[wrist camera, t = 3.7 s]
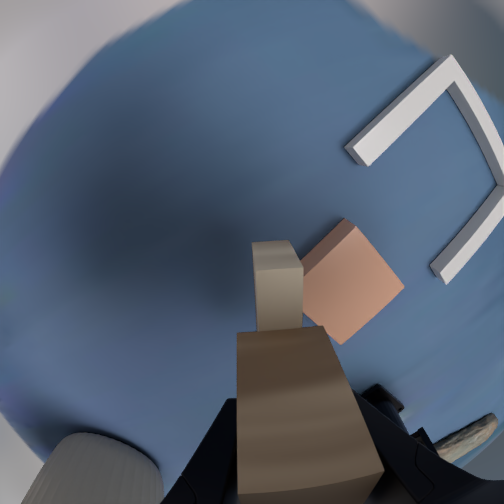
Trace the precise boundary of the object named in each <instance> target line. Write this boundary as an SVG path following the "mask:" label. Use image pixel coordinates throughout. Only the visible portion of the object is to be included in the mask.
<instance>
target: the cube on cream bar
mask: <svg viewBox="0 0 504 504" xmlns="http://www.w3.org/2000/svg"><path fill="white" fill-rule="evenodd" d="M252 256H253V273H254V291H255V308H256V326H257V331H256V332H241V333H237V474H238V496H239V500H240V504H363V503H364V502H365V501H366V499H367V498H368V496H369V495H370V493H371V492H372V490H373V489H374V487H375V485H376V484H377V482H378V481H379V479H380V477H381V476H382V474H383V472H384V468H383V465H382V463H381V460H380V458H379V455H378V453H377V450H376V448H375V445H374V443H373V440H372V438H371V435H370V433H369V430H368V428H367V426H366V423H365V421H364V418H363V416H362V414H361V411H360V409H359V406H358V404H357V402H356V399H355V397H354V395H353V392H352V390H351V387H350V385H349V383H348V381H347V378H346V376H345V374H344V371H343V369H342V367H341V364H340V362H339V360H338V358H337V355H336V353H335V351H334V349H333V346H332V344H331V342H330V340H329V337H328V335H327V333H326V331H325V328H324V326H323V325H322V326H313V327H303V328H302V318H303V266H302V264H301V262H300V260H299V258H298V256H297V254H296V253H295V251H294V249H293V247H292V245H291V243H290V242H289V240H281V241H265V242H252Z"/></svg>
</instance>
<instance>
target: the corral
mask: <svg viewBox="0 0 504 504" xmlns="http://www.w3.org/2000/svg"><path fill="white" fill-rule="evenodd" d="M446 89H447V91H448V92H449V94H450V95H451V97H452V98H453V100H454V102H455V103H456V105H457V106H458V108H459V110H460V111H461V113H462V115H463V116H464V118H465V120H466V122H467V123H468V125H469V127H470V129H471V131H472V132H473V134H474V136H475V138H476V140H477V142H478V144H479V146H480V148H481V150H482V152H483V154H484V156H485V158H486V160H487V162H488V165H489V167H490V169H491V171H492V174H493V176H494V178H495V181H496V183H497V186H496V187H495V188H494V190H493V191H492V192H491V194H490V195H489V196H488V198H487V199H486V200H485V202H484V203H483V204H482V205H481V207H480V208H479V209H478V210H477V212H476V213H475V214H474V215H473V217H472V218H471V219H470V220H469V221H468V223H467V224H466V225H465V226H464V227H463V229H462V230H461V231H460V232H459V233H458V234H457V236H456V237H455V238H454V239H453V240H452V241H451V242H450V244H449V245H448V246H447V247H446V248H445V249H444V250H443V251H442V252H441V253H440V255H439V256H438V257H437V258H436V259H435V260H434V261H433V262H432V263H431V264H430V267H431V269H432V270H433V272H434V274H435V275H436V277H437V278H438V279H440V280H441V281H442V282H444V283H445V284H446V285H447V284H448V282H449V281H450V280H451V279H452V278H453V277H454V276H455V275H456V274H457V273H458V272H459V270H460V269H461V268H462V267H463V266H464V265H465V264H466V262H467V261H468V260H469V259H470V258H471V257H472V255H473V254H474V253H475V252H476V251H477V249H478V248H479V247H480V246H481V245H482V243H483V242H484V241H485V240H486V238H487V237H488V236H489V235H490V233H491V232H492V231H493V229H494V228H495V227H496V225H497V224H498V223H499V221H500V220H501V219H502V217H503V216H504V146H503V143H502V141H501V139H500V137H499V135H498V133H497V130H496V128H495V126H494V124H493V122H492V120H491V118H490V116H489V114H488V113H487V111H486V109H485V107H484V105H483V103H482V101H481V100H480V98H479V96H478V94H477V93H476V91H475V89H474V88H473V86H472V84H471V83H470V81H469V80H468V78H467V76H466V75H465V73H464V72H463V70H462V69H461V67H460V66H459V64H458V63H457V61H456V60H455V58H454V57H453V56H452V54H451V55H448V56H445V57H441V58H440V59H438V60H437V61H436V62H435V63H434V64H433V65H432V66H431V67H430V68H429V69H427V70H426V71H425V72H424V73H423V74H422V75H421V76H420V77H419V78H418V79H417V80H415V81H414V82H413V83H412V84H411V85H410V86H409V87H408V88H407V89H406V90H405V91H404V92H402V93H401V94H400V95H399V96H398V97H397V98H396V99H395V100H394V101H393V102H392V103H391V104H390V105H388V106H387V107H386V108H385V109H384V110H383V111H382V112H381V113H380V114H379V115H378V116H377V117H376V118H375V119H373V120H372V121H371V122H370V123H369V124H368V125H367V126H366V127H365V128H364V129H363V130H362V131H361V132H360V133H359V134H357V135H356V136H355V137H354V138H353V139H352V140H351V141H350V142H349V143H348V144H347V145H346V146H345V147H344V148H345V149H346V150H347V151H348V153H349V154H350V155H351V156H352V157H353V159H354V160H355V161H356V162H357V163H358V165H362V166H367V167H368V166H369V165H370V164H371V163H372V162H373V161H375V160H376V159H377V158H378V157H379V156H380V155H381V154H382V153H383V152H384V151H385V150H386V149H387V148H388V147H389V146H390V145H391V144H392V143H393V142H394V141H395V140H396V139H397V138H398V137H399V136H400V135H401V134H402V133H403V132H404V131H405V130H406V129H407V128H408V127H409V126H410V125H411V124H412V123H413V122H414V121H415V120H416V119H417V118H418V117H419V116H420V115H421V114H422V113H423V112H424V111H425V110H426V109H427V108H428V107H429V106H430V105H431V104H432V103H433V102H434V101H435V100H436V99H437V98H438V97H439V96H440V95H441V94H442V93H443V92H444V91H445V90H446Z"/></svg>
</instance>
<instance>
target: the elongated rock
mask: <svg viewBox="0 0 504 504" xmlns="http://www.w3.org/2000/svg"><path fill="white" fill-rule="evenodd" d="M497 424H498V419H497V418H496V416H495V415H494V414H493V413H490V414H489V415H486V416H485V417H484V418H482V419H481V420H480V421H477V422H475V423H474V424H472V425H471V426H469V427H467V428H465V429H462V430H461V431H459V432H458V433H455V434H452V435H450V436H448V437H447V438H446V439H444V440H443V441H441V442H438V443H436V444H433V445H434V447H435V449H436V451H437V452H438V454H439V456H440V457H441V458H443V459H444V460H446V461H448V462H449V463H452V462H453V461H455V460H456V459H458V458H460V457H462V456H463V455H465V454H467V453H468V452H469V451H471V450H472V449H474V448H476V447H477V446H480V445H481V444H482V443H483V442H485V441H486V440H487V439H488V438H489V437H490V436H491V435H492V433H493V431H494V430H495V429H496V428H497Z"/></svg>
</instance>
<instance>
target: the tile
mask: <svg viewBox="0 0 504 504" xmlns="http://www.w3.org/2000/svg"><path fill="white" fill-rule="evenodd" d="M300 262H301V264H302V266H303V313H304V314H306V315H307V316H308V317H309V318H310V319H311V320H312V321H314V322H315V323H316V324H317V325H318V326H322V325H323V326H324V328H325V331H326V333H327V334H329V335H330V336H331V337H332V338H333V339H334V340H335V341H337V342H338V343H339V344H340V345H342V344H343V343H344V342H345V341H346V340H348V339H349V338H350V337H351V336H352V335H353V334H355V333H356V332H357V331H358V330H359V329H360V328H362V327H363V326H364V325H365V324H366V323H367V322H368V321H369V320H371V319H372V318H373V317H374V316H375V315H376V314H377V313H378V312H379V311H380V310H381V309H383V308H384V307H385V306H386V305H387V304H388V303H389V302H390V301H391V300H392V299H393V298H394V297H395V296H396V295H397V294H398V293H399V292H400V291H401V290H402V289H403V288H404V285H403V284H402V283H401V281H400V280H399V279H398V277H397V276H396V275H395V274H394V272H393V271H392V270H391V268H390V267H389V266H388V265H387V263H386V262H385V261H384V259H383V258H382V257H381V256H380V254H379V253H378V252H377V251H376V249H375V248H374V247H373V246H372V245H371V243H370V242H369V241H368V240H367V238H366V237H365V236H364V235H363V234H362V233H361V231H360V230H359V229H358V228H357V227H356V226H355V225H354V224H352V223H351V222H349V221H348V220H346V219H345V218H344V219H343V220H342V221H341V222H340V223H339V224H338V225H337V226H336V227H335V228H334V229H333V230H332V231H331V232H330V233H329V234H328V235H327V236H325V237H324V238H323V239H322V240H321V241H320V242H319V243H318V244H317V245H316V246H315V247H314V248H313V249H312V250H311V251H310V252H309V253H308V254H307V255H306V256H305V257H304V258H303V259H301V260H300Z"/></svg>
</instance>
